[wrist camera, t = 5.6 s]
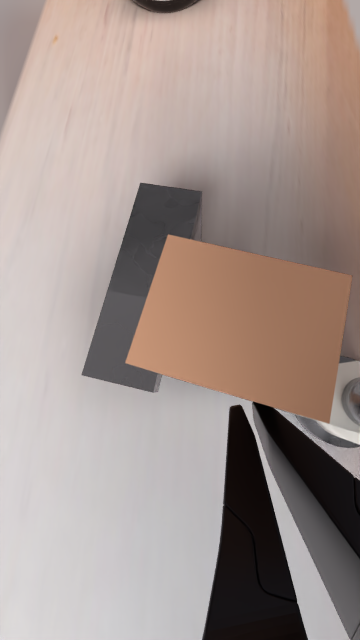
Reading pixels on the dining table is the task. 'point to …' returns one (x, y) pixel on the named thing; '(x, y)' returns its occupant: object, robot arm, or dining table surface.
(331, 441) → the pintle plate
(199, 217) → the dark grey block
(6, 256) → the dining table surface
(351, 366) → the link
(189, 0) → the spread jar
